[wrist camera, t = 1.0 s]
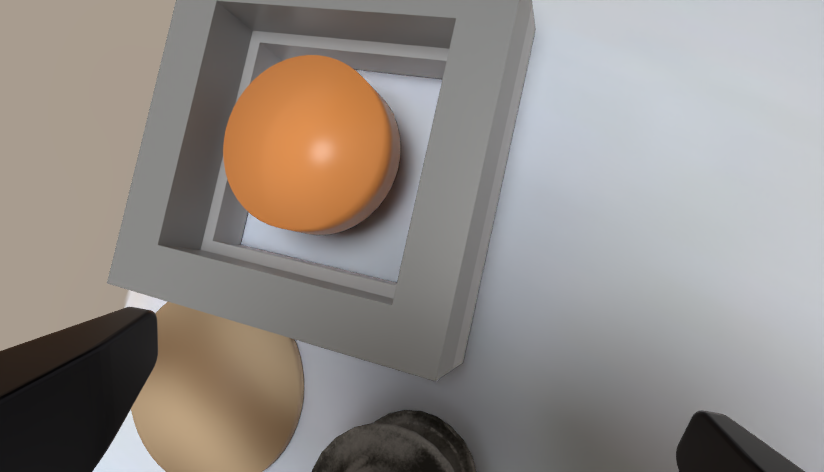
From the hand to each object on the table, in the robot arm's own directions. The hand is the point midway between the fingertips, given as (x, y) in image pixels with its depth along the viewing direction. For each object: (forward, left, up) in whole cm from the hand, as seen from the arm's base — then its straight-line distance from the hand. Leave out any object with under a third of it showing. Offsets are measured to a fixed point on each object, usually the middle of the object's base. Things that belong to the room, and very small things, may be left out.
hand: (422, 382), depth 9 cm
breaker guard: (+5, +9, -13) cm, 16 cm away
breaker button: (+5, +9, -10) cm, 14 cm away
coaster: (-6, +13, -13) cm, 19 cm away
